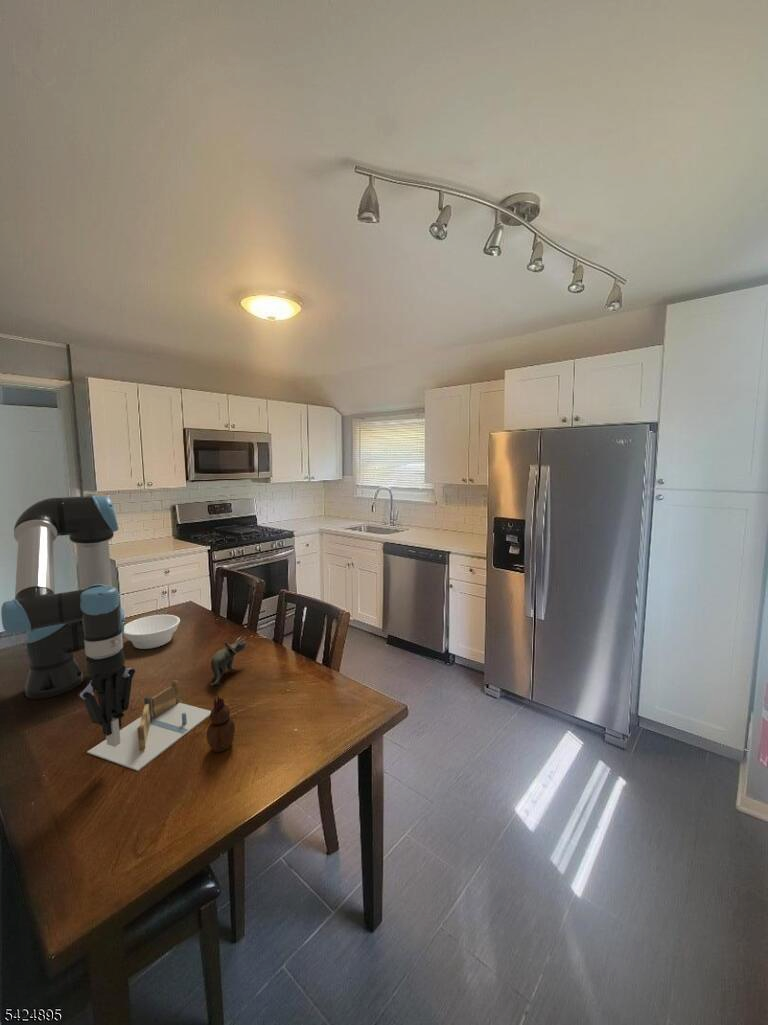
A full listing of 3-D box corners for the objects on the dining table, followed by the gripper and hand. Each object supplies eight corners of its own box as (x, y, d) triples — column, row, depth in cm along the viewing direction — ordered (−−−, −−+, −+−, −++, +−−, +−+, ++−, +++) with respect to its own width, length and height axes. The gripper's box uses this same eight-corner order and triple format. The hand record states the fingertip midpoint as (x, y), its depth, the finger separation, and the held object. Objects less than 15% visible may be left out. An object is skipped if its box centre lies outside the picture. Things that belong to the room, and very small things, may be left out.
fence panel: (145, 722, 119) (144, 703, 118) (151, 721, 120) (149, 702, 119) (138, 751, 108) (136, 729, 107) (145, 749, 108) (143, 728, 107)
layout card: (87, 753, 108) (86, 740, 108) (167, 700, 131) (167, 690, 131) (138, 771, 102) (137, 758, 101) (213, 712, 125) (212, 702, 125)
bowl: (164, 655, 162) (163, 634, 161) (110, 654, 162) (109, 634, 161) (190, 632, 183) (189, 614, 182) (142, 632, 183) (141, 614, 182)
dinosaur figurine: (213, 696, 134) (211, 663, 132) (190, 693, 135) (188, 661, 134) (249, 663, 155) (247, 634, 153) (228, 661, 157) (226, 632, 155)
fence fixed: (144, 723, 120) (142, 698, 119) (176, 702, 131) (175, 679, 130) (149, 724, 120) (147, 700, 119) (180, 703, 130) (178, 680, 129)
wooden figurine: (217, 759, 106) (214, 703, 104) (203, 750, 109) (200, 696, 107) (239, 743, 112) (237, 691, 110) (225, 736, 115) (222, 684, 113)
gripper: (88, 667, 93) (98, 765, 95) (140, 643, 105) (148, 731, 108) (65, 662, 95) (75, 757, 98) (119, 639, 107) (127, 725, 110)
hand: (113, 743), depth 103 cm, fingers closed
